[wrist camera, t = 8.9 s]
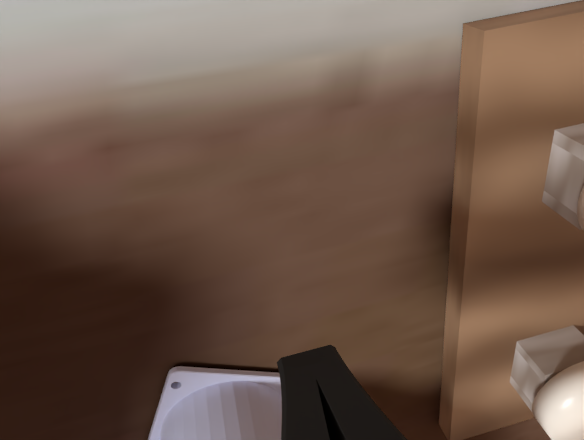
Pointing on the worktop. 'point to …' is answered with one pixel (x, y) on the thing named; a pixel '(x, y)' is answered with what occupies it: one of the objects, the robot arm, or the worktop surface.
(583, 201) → the plunger
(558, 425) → the plunger
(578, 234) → the stand
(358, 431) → the robot arm
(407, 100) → the worktop surface
